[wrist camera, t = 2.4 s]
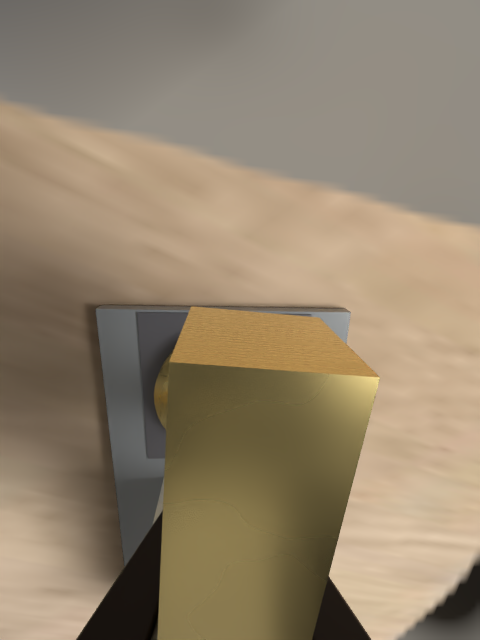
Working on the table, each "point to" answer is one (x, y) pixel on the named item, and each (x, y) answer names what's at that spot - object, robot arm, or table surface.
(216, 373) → the brass door handle
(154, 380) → the base plate
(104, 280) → the table surface
